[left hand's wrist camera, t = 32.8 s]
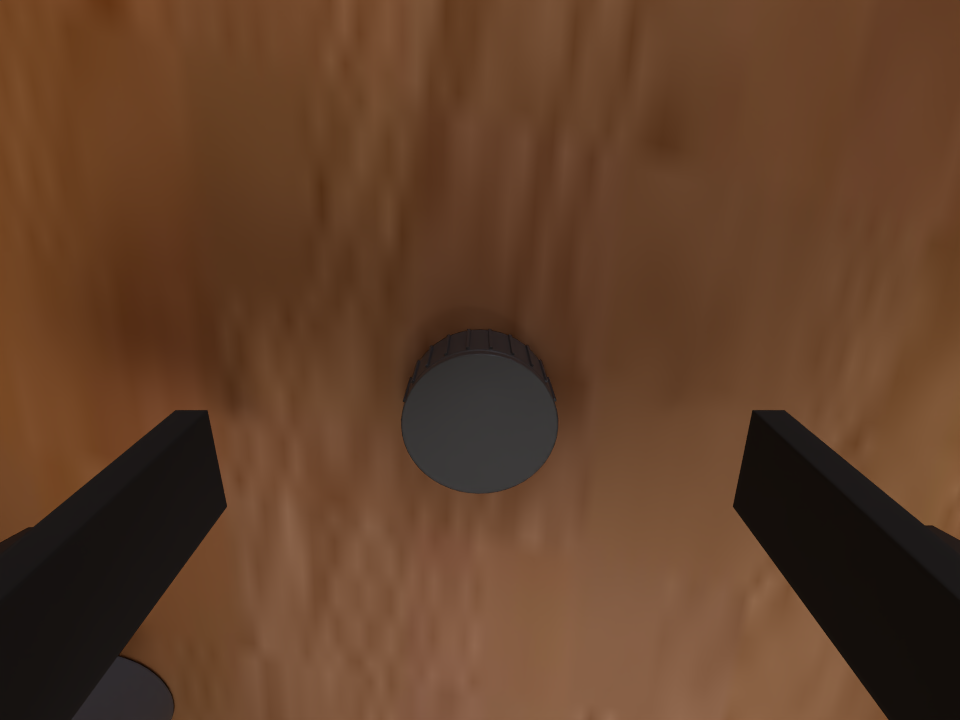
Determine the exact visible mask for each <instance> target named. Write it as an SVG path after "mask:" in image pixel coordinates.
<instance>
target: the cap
mask: <svg viewBox="0 0 960 720" xmlns="http://www.w3.org/2000/svg"><path fill="white" fill-rule="evenodd" d="M555 401H556V398H555V395H554V391H553V388H552V385H551V382H550V379H549V377H547V376H546V373H545V370H544V367H543V364H542V361H541V359H540V360H538V358H537V357H536V356H535V354H534V353H533V352H532V351H531V350H530V349H529V346H528V345H526V346H525V345H524V344H523V343H521V342H520V341H518V340H517V339H515V338H513V337H512V335H510V334H509V335H506V334H503V333H500V332H496V331H491V329H488V330H470V329H467V331H463V332H460V333H456V334H453V335H451V336H450V334H449V335H447V337H446V338H444V339H443V340H441V341H439V342H438V343H436V344H435V345H434V346H432V345H431V346H430V348H429V350H428V351H427V352H426V353H425V355H424V356H423V357H422V359H421V360H418V361H417V364H416V367H415V370H414V374H413V377H410V380H409V383H408V386H407V389H406V392H405V396H404V399H403V402H405V403H404V407H403V411H402V418H401V429H402V436H403V440H404V444H405V446H406V448H407V451H408V453H409V455H410V456H411V458H412V460H413V461H414V462H415V464H416V465H417V466H418V467H419V468H420V469H421V470H422V471H423V472H424V473H425V474H426V475H427V476H429V477H430V478H431V479H433V480H434V481H436V482H438V483H439V484H441V485H443V486H446V487H448V488H450V489H454V490H457V491H461V492H467V493H478V494H479V493H492V492H498V491H502V490H506V489H509V488H511V487H514V486H516V485H518V484H520V483H522V482H524V481H525V480H527V479H528V478H529V477H531V476H532V475H533V474H534V473H535V472H537V471H538V470H539V469H540V468H541V466H542V465H543V464H544V463H545V461H546V460H547V458H548V457H549V455H550V453H551V451H552V449H553V447H554V444H555V441H556V438H557V432H558V415H557V409H556V406H555Z"/></svg>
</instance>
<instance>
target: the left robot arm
mask: <svg viewBox="0 0 960 720" xmlns="http://www.w3.org/2000/svg"><path fill="white" fill-rule="evenodd" d="M226 507H227V504H226V499H225V494H224V489H223V484H222V479H221V474H220V470H219V465H218V460H217V455H216V450H215V445H214V440H213V435H212V430H211V425H210V420H209V415H208V410H175V411H174V412H173V413H172V414H170V415H169V416H168V417H167V418H166V419H164V420H163V421H162V422H161V423H159V424H158V425H157V426H156V427H155V428H153V429H152V430H151V431H150V432H148V433H147V434H146V435H145V436H144V437H142V438H141V439H140V440H139V441H138V442H136V443H135V444H134V445H133V446H131V447H130V448H129V449H128V450H127V451H125V452H124V453H123V454H122V455H121V456H119V457H118V458H117V459H116V460H114V461H113V462H112V463H111V464H110V465H108V466H107V467H106V468H105V469H103V470H102V471H101V472H100V473H99V474H97V475H96V476H95V477H94V478H93V479H91V480H90V481H89V482H88V483H86V484H85V485H84V486H83V487H82V488H80V489H79V490H78V491H77V492H75V493H74V494H73V495H72V496H71V497H69V498H68V499H67V500H66V501H65V502H63V503H62V504H61V505H60V506H58V507H57V508H56V509H55V510H54V511H52V512H51V513H50V514H49V515H47V516H46V517H45V518H44V519H43V520H41V521H40V522H39V523H38V524H37V525H35V526H34V527H28V528H26V529H24V530H23V531H21V532H19V533H17V534H15V535H13V536H11V537H10V538H8V539H6V540H4V541H2V542H0V720H72V718H73V717H74V715H75V714H76V713H77V711H78V710H79V709H80V707H81V706H82V705H83V703H84V702H85V700H86V699H87V698H88V696H89V695H90V694H91V692H92V691H93V689H94V688H95V687H96V685H97V684H98V683H99V681H100V680H101V678H102V677H103V676H104V674H105V673H106V672H107V670H108V669H109V668H110V666H111V665H112V663H113V662H114V661H115V659H116V658H117V657H118V655H119V654H120V652H121V651H122V650H123V648H124V647H125V646H126V644H127V643H128V642H129V640H130V639H131V637H132V636H133V635H134V633H135V632H136V631H137V629H138V628H139V626H140V625H141V624H142V622H143V621H144V620H145V618H146V617H147V615H148V614H149V613H150V611H151V610H152V609H153V607H154V606H155V605H156V603H157V602H158V600H159V599H160V598H161V596H162V595H163V594H164V592H165V591H166V589H167V588H168V587H169V585H170V584H171V583H172V581H173V580H174V579H175V577H176V576H177V574H178V573H179V572H180V570H181V569H182V568H183V566H184V565H185V563H186V562H187V561H188V559H189V558H190V557H191V555H192V554H193V552H194V551H195V550H196V548H197V547H198V546H199V544H200V543H201V542H202V540H203V539H204V537H205V536H206V535H207V533H208V532H209V531H210V529H211V528H212V526H213V525H214V524H215V522H216V521H217V520H218V518H219V517H220V516H221V514H222V513H223V511H224V510H225V509H226ZM733 507H734V509H735V510H736V511H737V513H738V514H739V516H740V517H741V518H742V520H743V521H744V522H745V524H746V525H747V526H748V528H749V529H750V531H751V532H752V533H753V535H754V536H755V537H756V539H757V540H758V542H759V543H760V544H761V546H762V547H763V548H764V550H765V551H766V552H767V554H768V555H769V557H770V558H771V559H772V561H773V562H774V563H775V565H776V566H777V568H778V569H779V570H780V572H781V573H782V574H783V576H784V577H785V579H786V580H787V581H788V583H789V584H790V585H791V587H792V588H793V589H794V591H795V592H796V594H797V595H798V596H799V598H800V599H801V600H802V602H803V603H804V605H805V606H806V607H807V609H808V610H809V611H810V613H811V614H812V615H813V617H814V618H815V620H816V621H817V622H818V624H819V625H820V626H821V628H822V629H823V631H824V632H825V633H826V635H827V636H828V637H829V639H830V640H831V642H832V643H833V644H834V646H835V647H836V648H837V650H838V651H839V652H840V654H841V655H842V657H843V658H844V659H845V661H846V662H847V663H848V665H849V666H850V668H851V669H852V670H853V672H854V673H855V674H856V676H857V677H858V678H859V680H860V681H861V683H862V684H863V685H864V687H865V688H866V689H867V691H868V692H869V694H870V695H871V696H872V698H873V699H874V700H875V702H876V703H877V705H878V706H879V707H880V709H881V710H882V711H883V713H884V714H885V715H886V717H887V718H888V720H960V540H958V539H956V538H955V537H953V536H951V535H949V534H947V533H945V532H943V531H942V530H940V529H938V528H936V527H934V526H925V525H923V524H922V523H921V522H920V521H919V520H917V519H916V518H915V517H914V516H913V515H911V514H910V513H909V512H908V511H906V510H905V509H904V508H903V507H902V506H900V505H899V504H898V503H897V502H895V501H894V500H893V499H892V498H891V497H889V496H888V495H887V494H886V493H885V492H883V491H882V490H881V489H880V488H878V487H877V486H876V485H875V484H874V483H872V482H871V481H870V480H869V479H867V478H866V477H865V476H864V475H863V474H861V473H860V472H859V471H858V470H857V469H855V468H854V467H853V466H852V465H850V464H849V463H848V462H847V461H846V460H844V459H843V458H842V457H841V456H839V455H838V454H837V453H836V452H835V451H833V450H832V449H831V448H830V447H829V446H827V445H826V444H825V443H824V442H822V441H821V440H820V439H819V438H818V437H816V436H815V435H814V434H813V433H811V432H810V431H809V430H808V429H807V428H805V427H804V426H803V425H802V424H801V423H799V422H798V421H797V420H796V419H794V418H793V417H792V416H791V415H790V414H788V413H787V412H786V411H785V410H752V415H751V420H750V425H749V430H748V435H747V440H746V445H745V450H744V455H743V460H742V465H741V470H740V474H739V479H738V484H737V489H736V494H735V499H734V504H733Z"/></svg>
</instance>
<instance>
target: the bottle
mask: <svg viewBox="0 0 960 720" xmlns="http://www.w3.org/2000/svg"><path fill="white" fill-rule="evenodd" d="M173 711H174V704H173V699H172V696H171V693H170V691H169V689H168V688H167V687H166V685H165V684H164V683H163V681H162V680H161V679H160V678H159V677H158V676H156V675H155V674H154V673H153V672H151V671H150V670H149V669H147V668H145V667H144V666H142V665H140V664H138V663H136V662H134V661H131V660H129V659H126V658H123V657H119V656H118V657H117V658H116V659H115V661H114V662H113V663H112V665H111V666H110V668H109V669H108V670H107V672H106V673H105V674H104V676H103V677H102V678H101V680H100V681H99V683H98V684H97V685H96V687H95V688H94V689H93V691H92V692H91V694H90V695H89V696H88V698H87V699H86V700H85V702H84V703H83V705H82V706H81V707H80V709H79V710H78V711H77V713H76V714H75V715H74V717H73V718H72V720H171V719H172V716H173Z"/></svg>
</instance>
